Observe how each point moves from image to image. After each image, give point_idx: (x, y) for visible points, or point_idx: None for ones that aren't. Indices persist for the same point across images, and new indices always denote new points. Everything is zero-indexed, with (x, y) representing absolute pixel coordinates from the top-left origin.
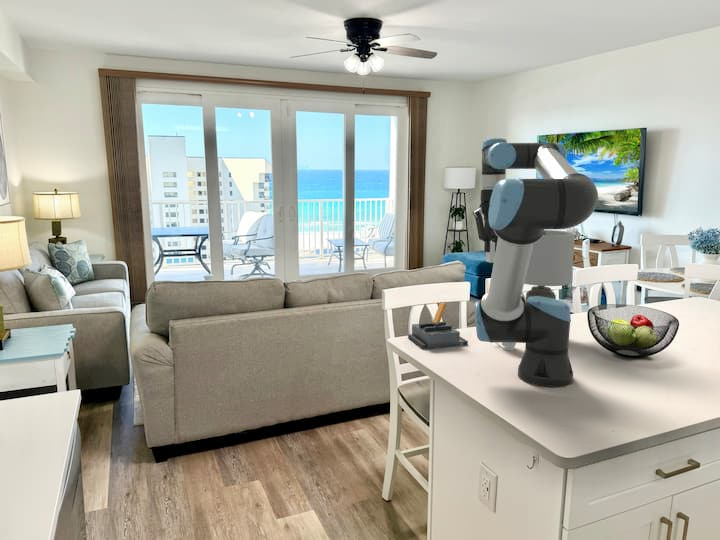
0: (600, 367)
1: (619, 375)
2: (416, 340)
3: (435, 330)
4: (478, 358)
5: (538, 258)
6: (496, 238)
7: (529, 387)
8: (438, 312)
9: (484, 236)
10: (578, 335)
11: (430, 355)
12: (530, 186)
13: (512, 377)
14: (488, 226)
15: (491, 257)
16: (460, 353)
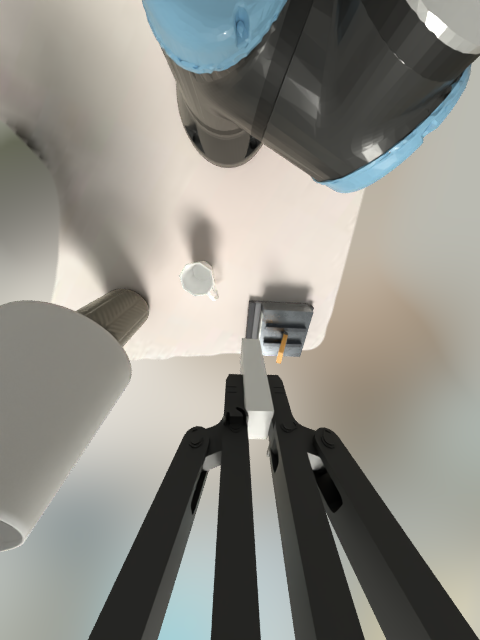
0: (96, 114)
1: (76, 43)
2: None
3: (290, 325)
4: (269, 246)
5: (24, 371)
6: (235, 438)
7: None
8: (284, 348)
9: (336, 458)
10: (68, 285)
11: (318, 281)
12: None
13: None
14: (345, 592)
15: (257, 351)
16: (278, 274)
